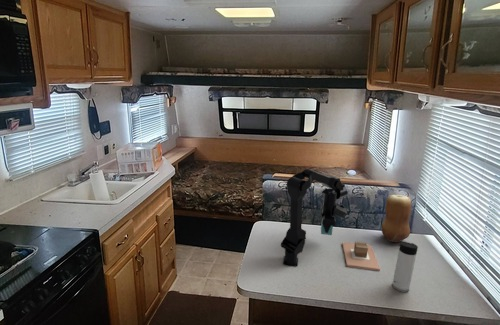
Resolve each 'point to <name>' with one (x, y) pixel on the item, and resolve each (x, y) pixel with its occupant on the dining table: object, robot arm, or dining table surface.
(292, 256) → the robot arm
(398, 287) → the travel mug
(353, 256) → the baseplate
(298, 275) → the dining table surface
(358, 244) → the walnut block
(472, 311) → the dining table surface
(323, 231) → the teal block
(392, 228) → the butternut squash
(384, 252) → the dining table surface
